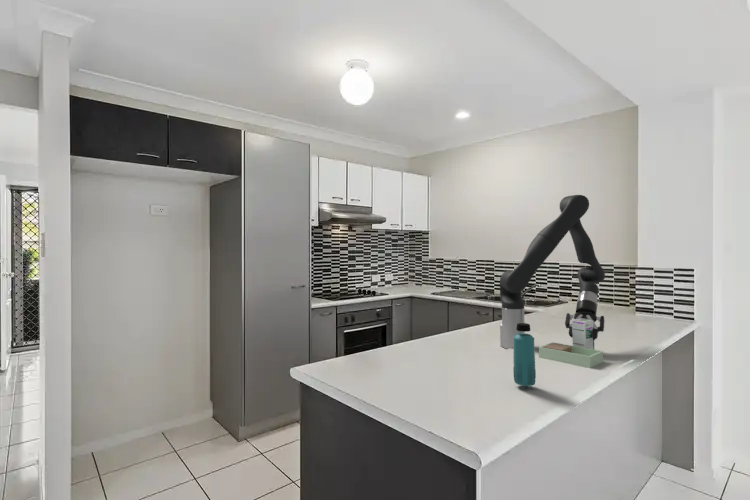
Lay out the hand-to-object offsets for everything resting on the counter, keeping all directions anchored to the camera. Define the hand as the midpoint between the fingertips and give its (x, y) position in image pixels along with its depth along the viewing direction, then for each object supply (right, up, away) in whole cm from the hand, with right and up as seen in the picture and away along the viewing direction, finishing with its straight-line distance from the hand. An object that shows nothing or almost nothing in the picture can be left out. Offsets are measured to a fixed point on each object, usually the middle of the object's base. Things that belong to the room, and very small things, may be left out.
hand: (582, 337), depth 162 cm
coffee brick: (-11, -7, -2) cm, 13 cm away
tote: (-8, -8, -6) cm, 12 cm away
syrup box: (+1, -8, +1) cm, 8 cm away
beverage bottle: (-35, -9, -34) cm, 49 cm away
